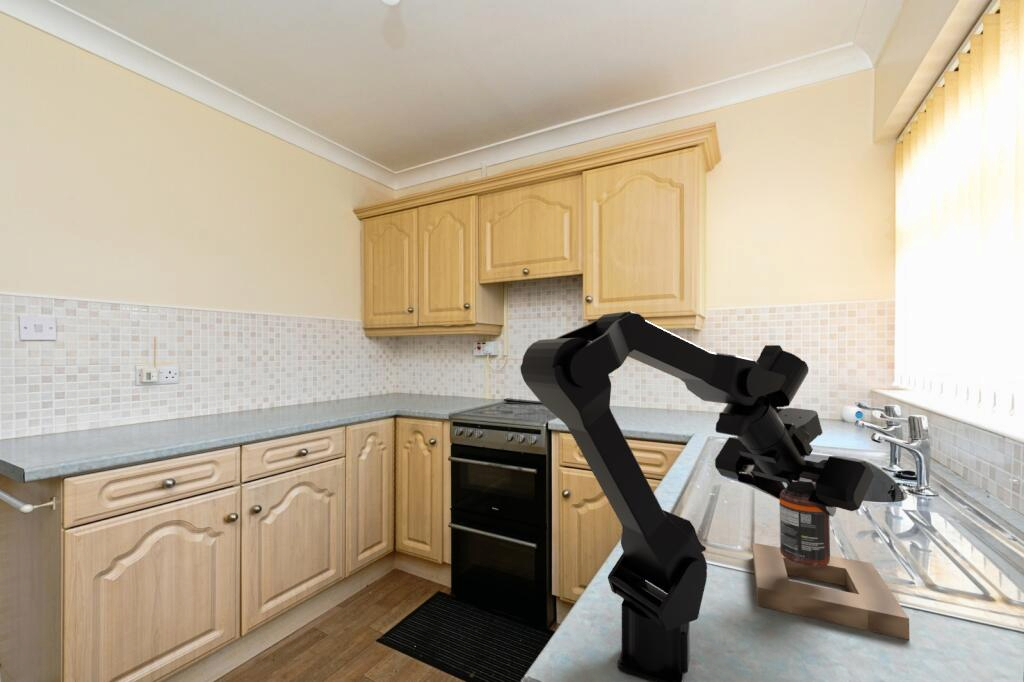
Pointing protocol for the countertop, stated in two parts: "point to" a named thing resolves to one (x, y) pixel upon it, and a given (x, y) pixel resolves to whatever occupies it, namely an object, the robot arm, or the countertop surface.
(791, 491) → the supplement bottle
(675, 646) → the robot arm
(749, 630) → the countertop surface
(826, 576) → the square wooden frame
